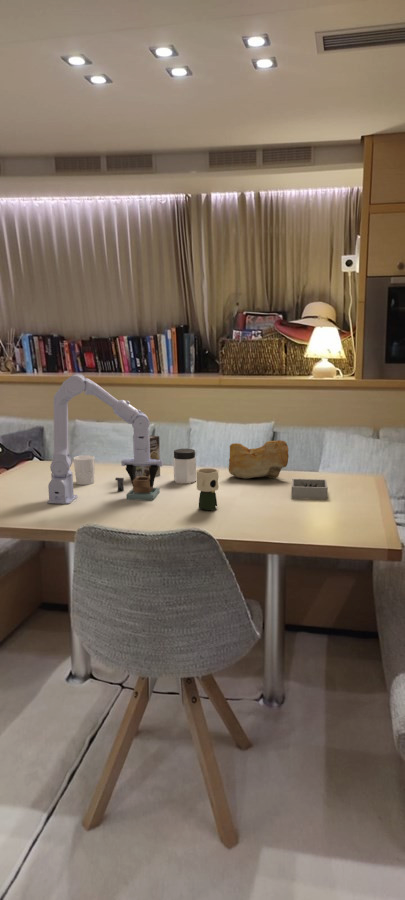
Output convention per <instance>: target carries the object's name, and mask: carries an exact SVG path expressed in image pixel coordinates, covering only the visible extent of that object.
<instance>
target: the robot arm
mask: <svg viewBox="0 0 405 900" xmlns="http://www.w3.org/2000/svg"><path fill="white" fill-rule="evenodd" d="M83 392H84V395H91V396H95V397H96V398H97V399H98V400H100V401H101V402H103V403H105V404H106V405H108V406H109V407H111V408H112V409H113V410H112V411H113V414H114V415H116V416H117V417H118V418H120V419H121V420H122V421H124V422H125V423H127V425H128V424H130V425H131V426H132V428H133V435H132V440H133V441H132V444H133V458H128V459H124V458H123V459H122V460H121V461H120V462H121V466H122V467H125V471H126V472H127V474H128V476H129V478H130V481H131V485H132V487H133V480H134V479H135V478H136V476H135V471H136V466H151V467H150V468H149V472H150V487H152V486H153V487H154V485H155V478H156V477H155V475H156V472H157V470H158V468H159V467H160V468H163V466H164V460H163V459H160V460H155V459H150V436H151V435H150V429H149V428H150V425H151V424H150V420H149V416H148V415H147V414H146V412H142V410H141V409H137V408H136V407H134V406H133V405H131V401H129V400H124V399H119V400H118V399H117V398H116V397H114V396H113V395H111V394H110V392H108V391H107V390H105V389H104V388H103V387H102V386H100V385H99V384H98V383H96V382H95V381H93V380H92V379H90V378H88V377H86V376H84V374H81V373H74V374H72V375H70V376H69V377H68V378H67V379H65V380H64V381H63V382H62V384H61V385H60V387H59V388H58V390H56V392H55V394H54V396H53V453H52V454H53V455H52V461H51V463H50V466H49V467H50V472H51V473H50V474H51V475H50V479H51V480H50V481H49V483H48V487H47V488H48V489H47V490H48V498H49V499H48V500H47V501H46V504H63V505H64V504H65V505H67V504H70V503H72V502H73V501H74V500H75V499H76V498H78V496H79V495H78V494H74V480H73V479H74V478H73V476H74V475H73V472H72V470H71V469H70V468H71V466H72V463H73V461H72V458H71V456H70V450H69V449H70V448H69V401H71V400H72V399H73V398H74V397H76V396H78V395H81V394H82V393H83Z"/></svg>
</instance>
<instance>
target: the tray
mask: <svg viewBox="0 0 405 900" xmlns="http://www.w3.org/2000/svg"><path fill="white" fill-rule="evenodd" d="M160 493H161V491H160V487H153V489H152V491H151V492H150V493H133V487H132V488H131V489H130V490H129V491H128V492H127V493H126V500H133V501H136V500H137V501H139V500H140V501H154V500H155V499H156V498H157V497H158V496H159V494H160Z"/></svg>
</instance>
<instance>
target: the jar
mask: <svg viewBox="0 0 405 900" xmlns="http://www.w3.org/2000/svg"><path fill="white" fill-rule="evenodd" d="M196 459H197V457H196V450H195V449H192V448H178V449H175V450H174V451H173V480H174V482H175V483H176V484H183V483H189V484H192V483H196V482H197V460H196ZM195 481H196V482H195ZM191 482H192V483H191Z"/></svg>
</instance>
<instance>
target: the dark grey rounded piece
mask: <svg viewBox="0 0 405 900" xmlns="http://www.w3.org/2000/svg"><path fill="white" fill-rule="evenodd" d="M114 481H116V482H117V492H120V493H121V492H125V491H124V490H125V489H124V488H125V486H124V485H125V484H124V477H115V480H114Z"/></svg>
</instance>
